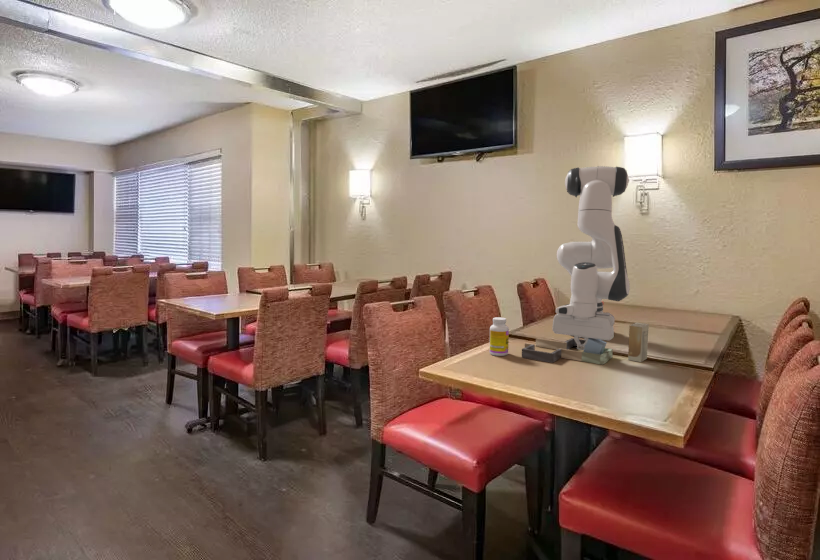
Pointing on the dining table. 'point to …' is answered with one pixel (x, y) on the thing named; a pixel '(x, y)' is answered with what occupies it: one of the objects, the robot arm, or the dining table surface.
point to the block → (595, 346)
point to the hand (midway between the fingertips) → (581, 349)
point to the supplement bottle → (499, 337)
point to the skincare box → (638, 342)
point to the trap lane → (563, 352)
